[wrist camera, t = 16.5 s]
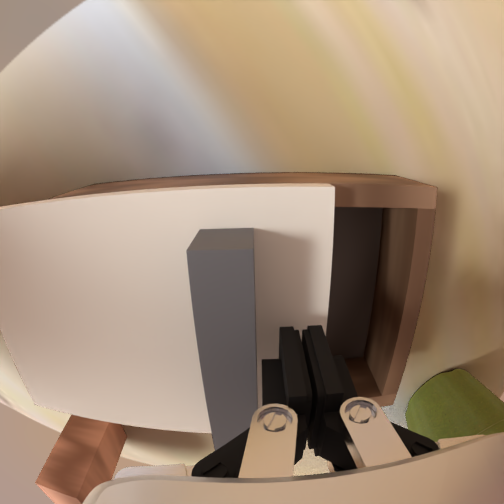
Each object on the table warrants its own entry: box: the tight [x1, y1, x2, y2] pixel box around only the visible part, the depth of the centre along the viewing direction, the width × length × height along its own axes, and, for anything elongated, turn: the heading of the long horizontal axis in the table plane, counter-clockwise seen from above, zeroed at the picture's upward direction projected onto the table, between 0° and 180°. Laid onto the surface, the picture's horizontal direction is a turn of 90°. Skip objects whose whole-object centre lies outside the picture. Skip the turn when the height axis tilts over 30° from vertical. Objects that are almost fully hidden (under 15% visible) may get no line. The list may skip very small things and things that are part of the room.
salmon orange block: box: [35, 415, 127, 504], centre depth 20 cm, size 4×4×10 cm
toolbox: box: [48, 172, 437, 407], centre depth 17 cm, size 18×13×5 cm
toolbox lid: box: [0, 183, 335, 451], centre depth 13 cm, size 18×13×4 cm
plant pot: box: [405, 369, 504, 442], centre depth 18 cm, size 12×12×11 cm
